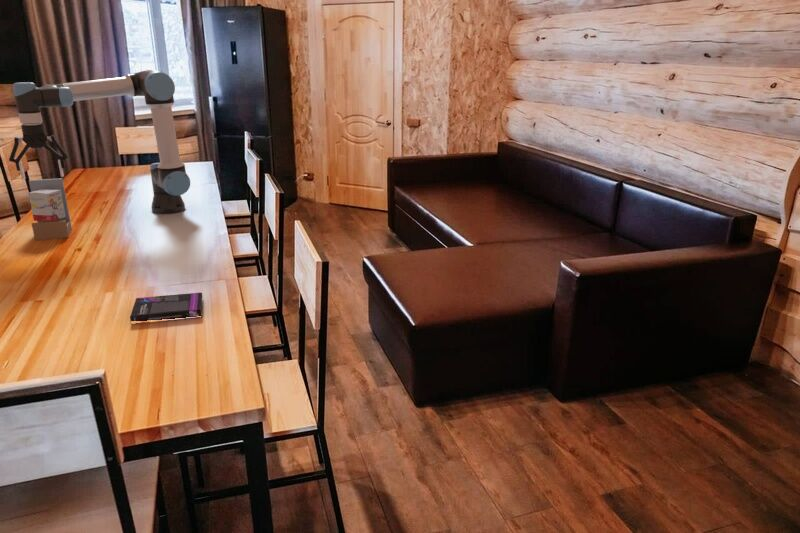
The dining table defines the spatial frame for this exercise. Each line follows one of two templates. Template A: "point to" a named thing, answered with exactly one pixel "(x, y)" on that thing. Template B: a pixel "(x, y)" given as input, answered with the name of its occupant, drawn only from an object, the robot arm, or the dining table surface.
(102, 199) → the dining table surface
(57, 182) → the grey magazine holder
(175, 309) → the box
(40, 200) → the ink box
